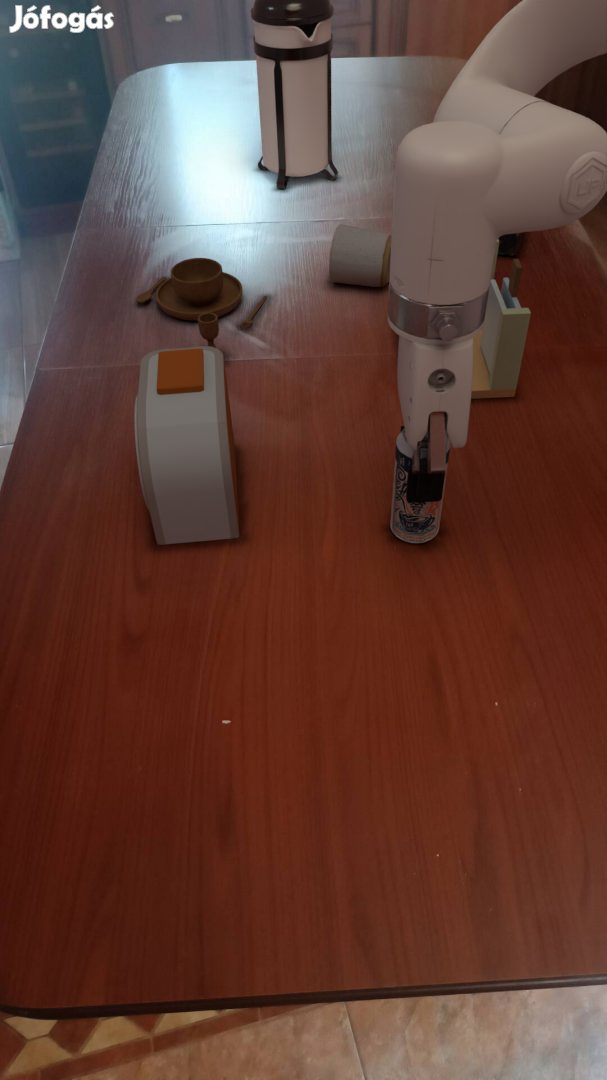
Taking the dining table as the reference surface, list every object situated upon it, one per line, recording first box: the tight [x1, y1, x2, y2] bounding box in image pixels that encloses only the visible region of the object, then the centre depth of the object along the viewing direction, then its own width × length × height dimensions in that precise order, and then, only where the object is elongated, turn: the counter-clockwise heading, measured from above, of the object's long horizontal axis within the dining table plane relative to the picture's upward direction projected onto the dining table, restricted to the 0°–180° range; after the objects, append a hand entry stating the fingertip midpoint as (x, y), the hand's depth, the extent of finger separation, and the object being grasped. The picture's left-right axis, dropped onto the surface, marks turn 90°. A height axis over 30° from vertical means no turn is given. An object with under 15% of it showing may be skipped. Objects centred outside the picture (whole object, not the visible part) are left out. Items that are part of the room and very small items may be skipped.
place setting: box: [135, 257, 268, 348], centre depth 106 cm, size 18×20×6 cm
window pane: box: [500, 258, 523, 309], centre depth 92 cm, size 1×7×12 cm, turn 1°
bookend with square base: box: [471, 239, 532, 400], centre depth 96 cm, size 12×18×11 cm, turn 2°
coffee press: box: [250, 0, 339, 190], centre depth 131 cm, size 17×16×30 cm
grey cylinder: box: [328, 224, 392, 288], centre depth 112 cm, size 11×8×8 cm
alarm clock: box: [133, 345, 241, 546], centre depth 79 cm, size 15×8×14 cm, turn 5°
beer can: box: [390, 428, 451, 544], centre depth 75 cm, size 5×5×12 cm
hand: (419, 478), depth 74 cm, fingers closed on beer can, 4 cm apart
